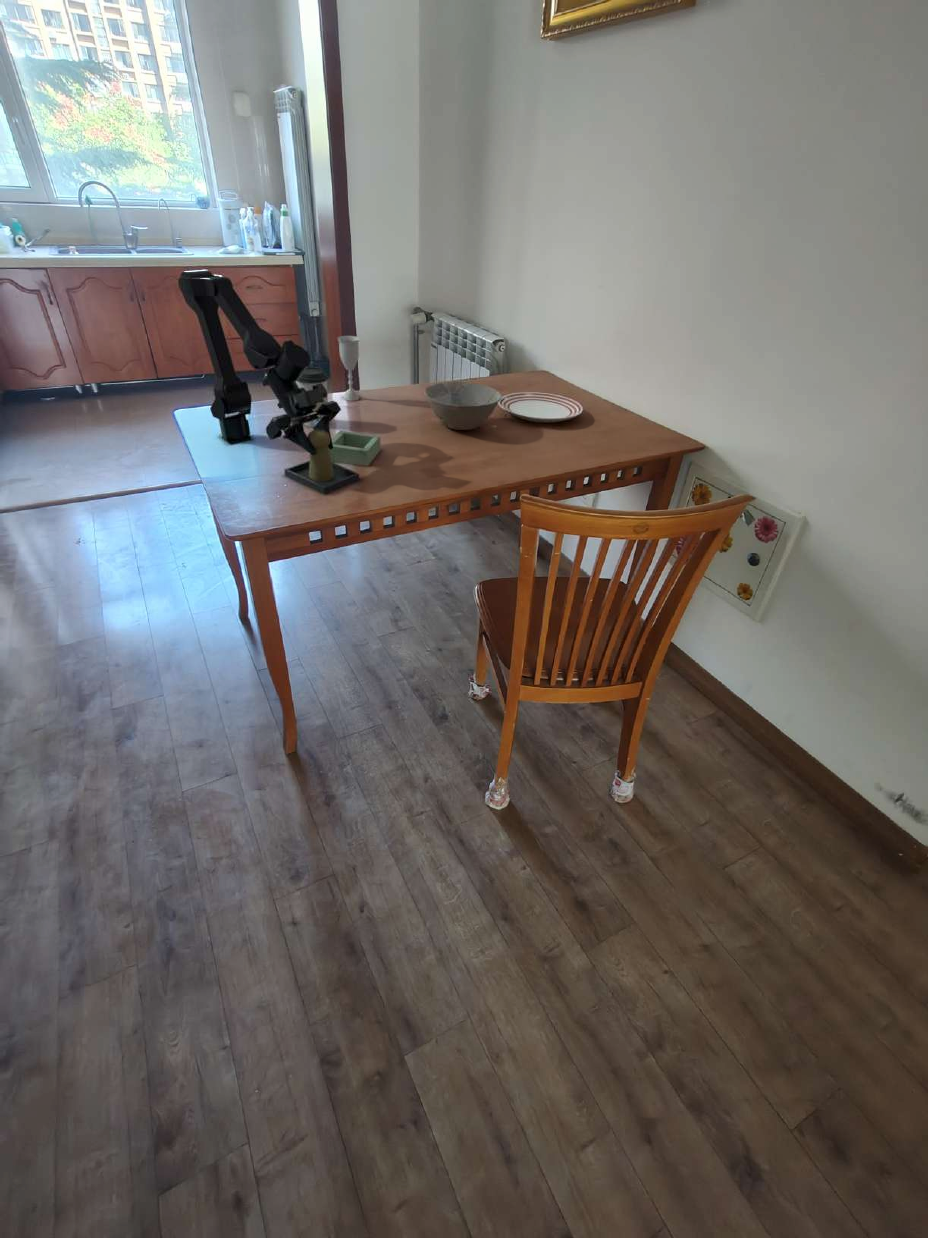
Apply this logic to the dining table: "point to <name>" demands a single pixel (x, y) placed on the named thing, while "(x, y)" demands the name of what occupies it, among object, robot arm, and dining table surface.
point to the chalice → (349, 361)
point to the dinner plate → (540, 407)
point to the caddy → (354, 448)
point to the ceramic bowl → (462, 403)
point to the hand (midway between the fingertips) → (323, 451)
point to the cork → (320, 456)
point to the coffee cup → (310, 379)
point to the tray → (338, 481)
